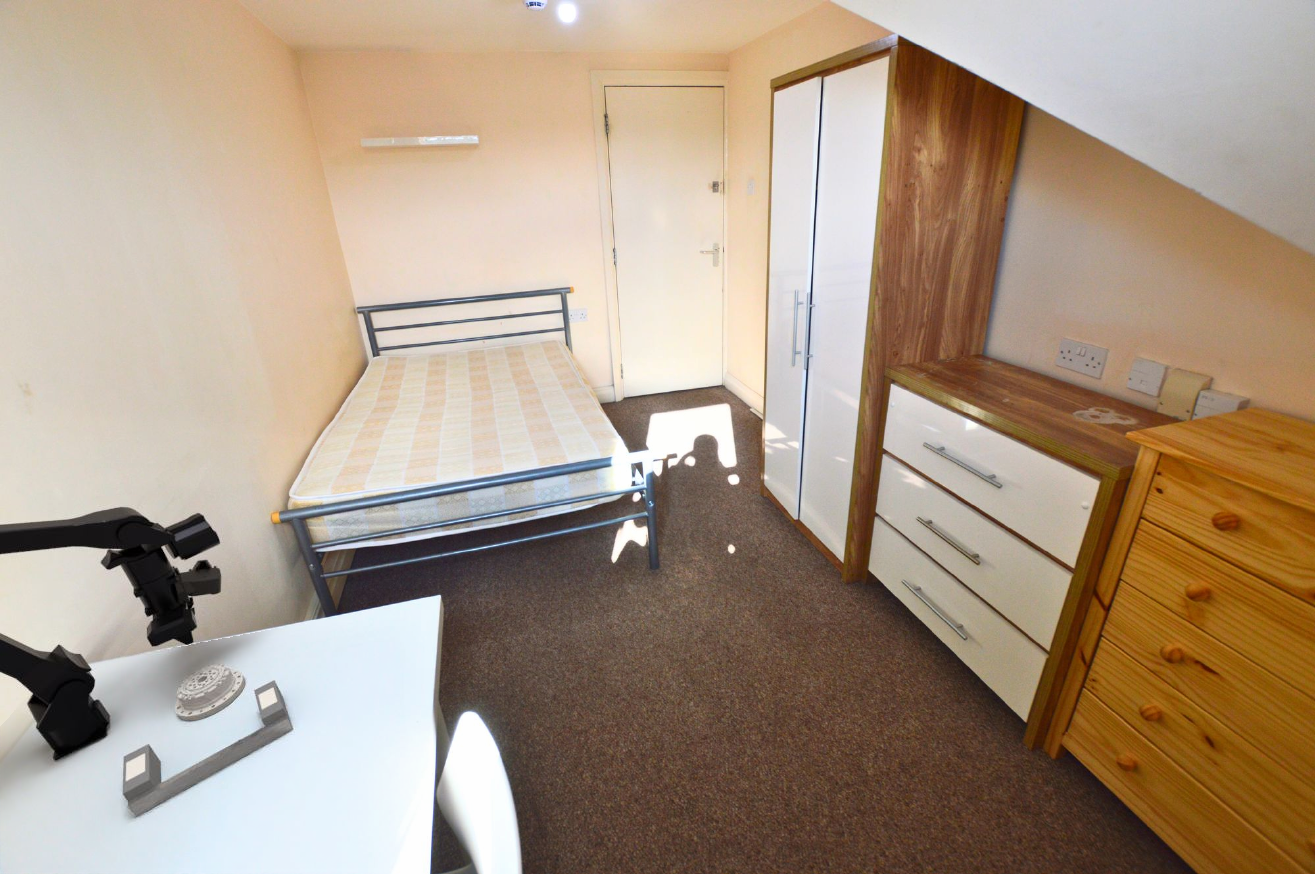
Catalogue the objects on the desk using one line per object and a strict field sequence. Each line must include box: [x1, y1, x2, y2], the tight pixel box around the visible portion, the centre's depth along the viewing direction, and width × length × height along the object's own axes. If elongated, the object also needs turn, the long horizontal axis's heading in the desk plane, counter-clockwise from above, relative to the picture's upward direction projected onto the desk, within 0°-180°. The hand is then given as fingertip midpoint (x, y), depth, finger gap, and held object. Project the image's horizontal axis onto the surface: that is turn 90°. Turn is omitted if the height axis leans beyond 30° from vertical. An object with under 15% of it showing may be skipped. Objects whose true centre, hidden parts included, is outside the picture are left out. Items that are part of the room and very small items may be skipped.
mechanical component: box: [174, 662, 246, 722], centre depth 99 cm, size 10×4×10 cm
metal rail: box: [127, 715, 294, 818], centre depth 86 cm, size 20×1×2 cm, turn 131°
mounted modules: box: [122, 679, 292, 802], centre depth 89 cm, size 20×8×4 cm, turn 130°
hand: (190, 642), depth 105 cm, fingers closed
